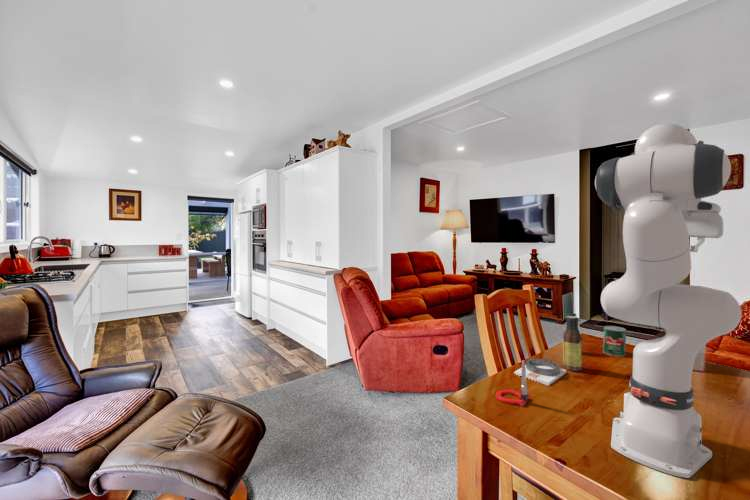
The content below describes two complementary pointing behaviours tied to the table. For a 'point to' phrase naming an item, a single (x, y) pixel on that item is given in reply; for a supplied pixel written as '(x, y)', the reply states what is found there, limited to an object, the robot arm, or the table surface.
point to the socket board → (541, 379)
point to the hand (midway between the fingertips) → (673, 250)
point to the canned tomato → (614, 340)
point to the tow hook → (522, 395)
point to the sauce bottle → (572, 345)
